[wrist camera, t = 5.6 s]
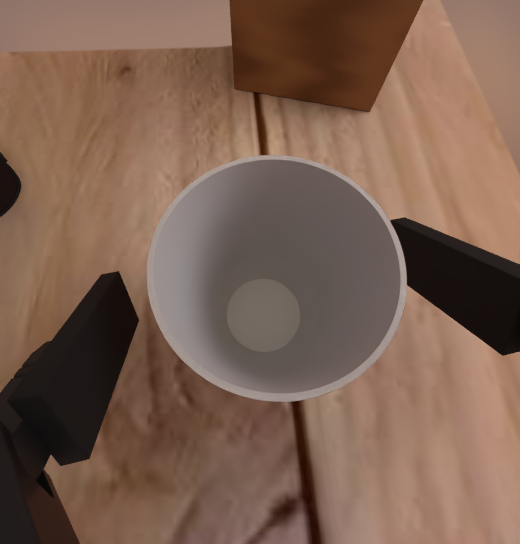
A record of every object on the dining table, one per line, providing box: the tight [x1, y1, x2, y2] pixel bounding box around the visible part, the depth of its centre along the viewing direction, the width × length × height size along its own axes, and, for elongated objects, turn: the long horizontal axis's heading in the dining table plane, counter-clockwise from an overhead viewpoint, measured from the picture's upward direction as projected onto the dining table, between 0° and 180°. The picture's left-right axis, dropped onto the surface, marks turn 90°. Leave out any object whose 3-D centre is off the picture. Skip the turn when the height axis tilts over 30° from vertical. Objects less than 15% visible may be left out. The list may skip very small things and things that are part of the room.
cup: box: [147, 155, 407, 402], centre depth 13 cm, size 8×8×10 cm
